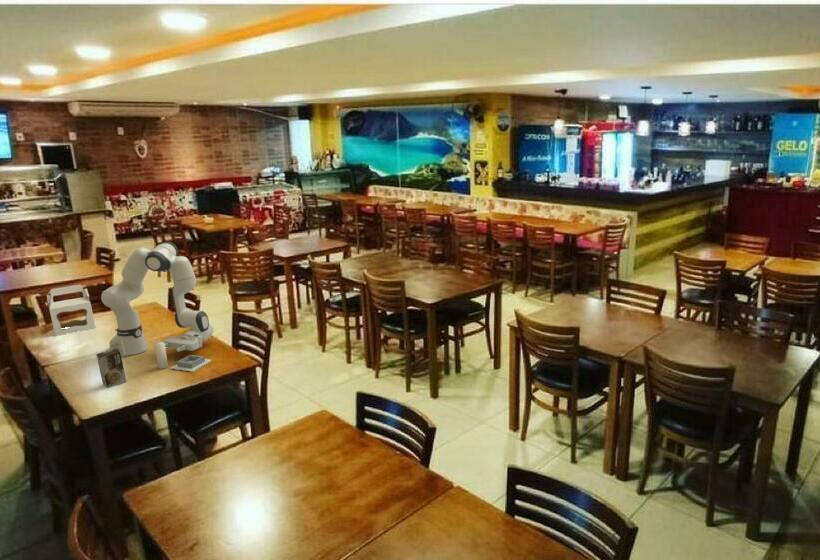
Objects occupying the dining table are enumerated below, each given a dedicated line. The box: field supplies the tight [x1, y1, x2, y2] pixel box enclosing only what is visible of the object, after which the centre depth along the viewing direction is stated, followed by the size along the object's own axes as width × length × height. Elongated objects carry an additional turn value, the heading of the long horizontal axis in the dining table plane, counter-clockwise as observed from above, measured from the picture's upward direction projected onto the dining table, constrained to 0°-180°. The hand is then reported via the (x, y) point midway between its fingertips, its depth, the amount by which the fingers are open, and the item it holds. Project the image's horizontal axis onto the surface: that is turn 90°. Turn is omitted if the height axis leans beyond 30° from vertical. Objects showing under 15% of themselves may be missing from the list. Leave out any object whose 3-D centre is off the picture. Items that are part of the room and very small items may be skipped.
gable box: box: [46, 283, 96, 337], centre depth 345 cm, size 22×13×28 cm, turn 124°
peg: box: [154, 341, 169, 370], centre depth 284 cm, size 5×5×13 cm
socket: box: [170, 354, 213, 373], centre depth 286 cm, size 14×14×4 cm
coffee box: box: [96, 349, 127, 389], centre depth 267 cm, size 9×6×16 cm
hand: (170, 349), depth 289 cm, fingers open, 8 cm apart
